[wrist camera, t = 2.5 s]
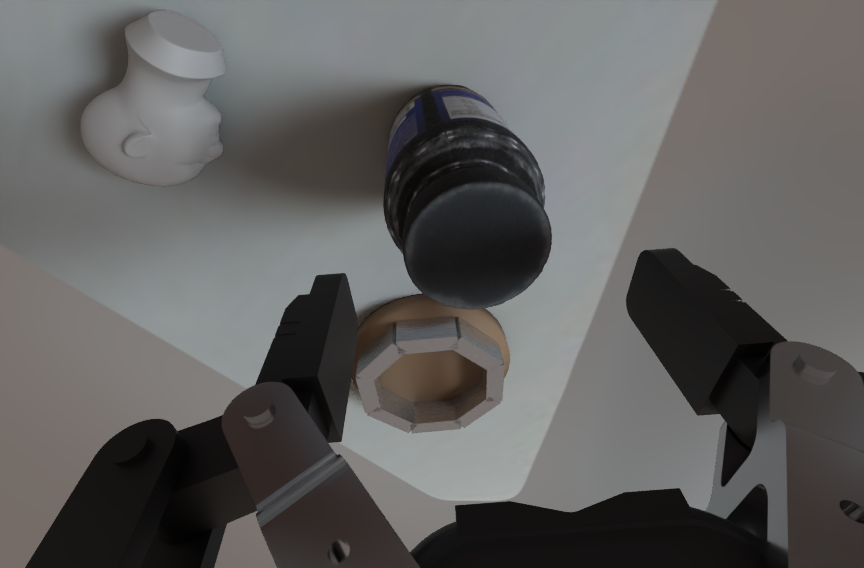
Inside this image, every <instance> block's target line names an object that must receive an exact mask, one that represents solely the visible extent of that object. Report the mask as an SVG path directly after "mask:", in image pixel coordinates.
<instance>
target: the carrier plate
mask: <svg viewBox="0 0 864 568" xmlns="http://www.w3.org/2000/svg"><path fill="white" fill-rule="evenodd" d="M509 363H510V354H509V349H508V345H507V342H506V338H505V335H504V332H503V330H502V327H501V325H500V324H499V322H498V321H497V319H496V318H495V317H494V316H493V315H492V314H491V313H490V312H489V311H488V310H486V309H485V308H480V309H470V310H468V309H459V308H458V309H456V308H452V307H448V306H444V305H443V304H440V303H438V302H436V301H434V300H431V299H430V298H428V297H427V296H426V295H424V294H419V295H412V296H408V297H404V298H400V299H398V300H395V301H392V302H390V303H388V304H386V305H384V306H382V307H380V308H379V309H377V310H376V311H374V312H373V313H372V314H371V315H370V316H368V317H367V318H366V319H365V321H364V322H363V323H362V324H361V325H360V327H359V328H358V337H357V344H356V350H355V357H354V363H353V370H352V376H351V377H352V379H353V382H354V384H355V385H356V387H357V389H358V390H359V393H360V396H361V400H362V403H363V407H364V410H365V413H368V414H367V415H368V416H371V417H373V418H375V419H377V420H380V421H382V422H384V423H387V424H389V425H391V426H394V427H396V428H398V429H401V430H403V431H405V432H407V433H409V432H410V431H411V432H412V433H421V432H432V431H442V430H453V429H461V426H462V427H464V428H465V427H466V426H468V425H469V424H470V423H472V422H473V421H475V420H476V419H478V418H479V417H481V416H482V415H484V414H485V413H487V412H488V411H490V410H491V409H492V408H494V407H495V406H497V405H498V404H500V401H502V396H503V382H504V378H505V376H506V374H507V371H508V369H509Z"/></svg>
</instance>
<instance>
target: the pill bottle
mask: <svg viewBox="0 0 864 568" xmlns="http://www.w3.org/2000/svg"><path fill="white" fill-rule="evenodd" d="M544 205H545V186H544V180H543V176H542V173H541V170H540V168H539V166H538V163H537V161H536V159H535V158H534V156H533V155H532V153H531V152H530V150H529V149H528V148H527V146H526V145H525V144H524V143H523V142H522V141H521V140H520V139H519V137H518V136H517V135H516V134H515V133H514V132H513V131H512V129H511V128H510V127H509V126H508V125H507V123H506V122H505V121H504V120H503V119H502V117H501V116H500V115H499V114H498V113H497V112H496V110H495V109H494V108H493V107H492V106H491V104H490V103H489V102H488V101H487V100H486V99H485V98H484V97H482V96H481V95H479V94H477V93H476V92H474V91H472V90H470V89H468V88H466V87H464V86H460V85H440V86H437V87H434V88H429V89H427V90H425V91H422V92H420V93H418V94H416V95H415V96H413V97H412V98H411V99H410V100H409V101H408V102H407V103H406V104H405V105H404V106H403V107H402V109H401V110H400V111H399V112H398V114H397V116H396V118H395V120H394V122H393V125H392V128H391V131H390V135H389V140H388V153H387V165H386V178H385V191H384V204H383V206H384V216H385V221H386V223H387V228H388V231H389V232H390V235H391V237H392V239H393V241H394V242H395V244H396V246H397V247H398V248H399V249H400V250H401V252H402V253H403V256H404V262H405V265H406V269H407V272H408V274H409V276H410V278H411V280H412V282H413V283H414V284H415V286H416V287H417V288H418V289H419V290H420V291H421V292H422V293H423V294H424V295H426V296H427V297H428V298H430V299H431V300H434V301H436V302H438V303H440V304H443V305H444V306H448V307H452V308H456V309H458V308H459V309H468V310H470V309H480V308H488V307H492V306H496V305H499V304H502V303H504V302H505V301H507V300H509V299H512V298H514V297H515V296H517V295H518V294H520V293H521V292H523V291H524V290H526V289H527V288H528V287H529V286H530V285H531V284H532V283H533V282H534V281H535V279H536V278H537V277H538V276H539V274H540V273H541V272H542V270H543V267H544V265H545V264H546V262H547V259H548V257H549V254H550V250H551V244H552V242H551V240H552V234H551V226H550V222H549V219H548V216H547V214H546V212H545V210H544Z"/></svg>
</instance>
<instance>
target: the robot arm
mask: <svg viewBox="0 0 864 568" xmlns="http://www.w3.org/2000/svg"><path fill="white" fill-rule="evenodd" d="M626 306H627V310H628V314H629V316H630V317H631V319H632V321H633V322H634V324H635V325H636V327H637V328H638V329H639V331H640V332H641V334H642V335H643V337H644V338H645V340H646V341H647V343H648V344H649V345H650V347H651V348H652V350H653V351H654V353H655V354H656V356H657V357H658V359H659V360H660V362H661V363H662V364H663V366H664V367H665V369H666V370H667V372H668V373H669V375H670V376H671V378H672V379H673V380H674V382H675V383H676V385H677V386H678V388H679V389H680V391H681V392H682V393H683V395H684V396H685V398H686V399H687V401H688V402H689V404H690V405H691V407H692V408H693V410H694V411H695V413H696V414H697V415H711V414H721V416H722V417H723V419H724V420H725V421H724V423H723V424H722V426H721V428H720V431H719V439H718V447H717V455H716V462H715V471H714V479H713V487H712V494H711V498H710V501H709V504H708V507H707V509H706V511H702V510H699V509H696V508H692V507H689V505H688V503H687V501H686V500H685V498H684V496H683V494H682V492H681V490H680V489H679V488H676V489H664V490H650V491H637V492H625V493H622V494H619V495H617V496H614V497H612V498H609V499H607V500H605V501H602V502H599V503H597V504H594V505H592V506H589V507H587V508H584V509H582V510H580V511H577V512H563V511H558V510H553V509H548V508H542V507H537V506H532V505H527V504H522V503H516V502H511V501H508V502H495V503H483V504H470V505H457V506H455V511H456V522H454V523H451V524H449V525H446V526H444V527H442V528H441V529H439V530H437V531H435V532H433V533H432V534H430V535H429V536H428V537H426V538H425V539H424V540H423V541H421V542H420V543H419V544H418V545H417V546H416V547H415V548H414V549H413V550H412V551H411V552H409V551H408V549H407V548H406V546H405V545H404V544H403V542H402V541H401V539H400V538H399V536H398V535H397V533H396V532H395V531H394V529H393V528H392V526H391V525H390V523H389V522H388V521H387V519H386V518H385V516H384V515H383V513H382V512H381V510H380V509H379V508H378V506H377V505H376V503H375V502H374V500H373V499H372V497H371V496H370V495H369V493H368V492H367V490H366V489H365V487H364V486H363V484H362V483H361V482H360V480H359V479H358V477H357V476H356V474H355V473H354V472H353V470H352V469H351V467H350V466H349V464H348V463H347V462H346V460H345V459H344V458H343V457H342V456H341V455H340V454H339V455H337V454H336V453H335V452H334V451H333V449H332V448H331V447H330V445H329V444H328V443H332V442H341V441H342V434H343V428H344V421H345V415H346V408H347V402H348V395H349V389H350V382H351V376H352V370H353V363H354V357H355V350H356V344H357V337H358V324H357V317H356V312H355V308H354V304H353V300H352V295H351V291H350V287H349V283H348V279H347V276H346V274H345V273H340V274H327V275H317V276H316V277H315V280H314V283H313V286H312V289H311V292H310V294H307V295H298V296H297V297H296V298H295V299H294V300H293V301H292V302H291V303H290V304H289V306H288V307H287V308H286V309H285V312H284V314H283V317H282V319H281V322H280V326H279V327H278V329H277V332H276V334H275V338H274V339H273V342H272V344H271V347H270V349H269V352H268V354H267V357H266V359H265V362H264V364H263V367H262V369H261V372H260V374H259V377H258V379H257V382H256V384H255V385H254V386H252V387H250V388H248V389H246V390H245V391H243V392H241V393H240V394H239V395H238V396H236V397H235V398H234V399H233V400H232V401H231V403H230V404H229V405H228V407H227V408H226V410H225V412H224V414H223V415H222V416H219V417H217V418H214V419H212V420H209V421H206V422H203V423H200V424H197V425H194V426H192V427H188V428H186V429H183V430H180V431H177V430H176V429H175V428H174V426H173V425H172V424H171V423H170V422H168V421H166V420H163V419H150V420H145V421H142V422H138V423H136V424H134V425H131V426H129V427H127V428H126V429H124V430H122V431H121V432H119V433H118V434H116V435H115V436H114V437H112V438H111V439H110V440H109V441H108V442H107V443H106V444H105V445H104V446H103V447H102V448H101V449H100V450H99V451H98V453H97V454H96V455H95V457H94V458H93V460H92V461H91V463H90V465H89V466H88V468H87V469H86V471H85V473H84V474H83V476H82V477H81V479H80V481H79V482H78V484H77V485H76V487H75V489H74V490H73V492H72V493H71V495H70V497H69V499H68V500H67V501H66V503H65V505H64V506H63V508H62V509H61V511H60V513H59V514H58V516H57V517H56V519H55V521H54V522H53V524H52V525H51V527H50V529H49V530H48V532H47V534H46V535H45V537H44V538H43V540H42V542H41V543H40V545H39V546H38V548H37V550H36V551H35V553H34V555H33V556H32V557H31V559H30V561H29V563H28V564H27V566H26V567H25V568H214V566H215V562H216V559H217V555H218V552H219V549H220V545H221V542H222V538H223V535H224V531H225V528H226V525H227V523H229V522H231V521H234V520H236V519H238V518H241V517H243V516H245V515H248V514H250V513H253V512H255V511H258V513H257V514H256V517H257V521H258V524H259V526H260V529H261V531H262V534H263V536H264V538H265V541H266V543H267V545H268V548H269V550H270V552H271V554H272V557H273V559H274V562H275V564H276V566H277V568H864V373H863V372H858V371H857V370H856V369H855V368H854V367H853V366H852V365H851V364H850V363H848V362H847V361H846V360H844V359H843V358H841V357H839V356H838V355H836V354H834V353H832V352H830V351H828V350H826V349H823V348H821V347H818V346H815V345H812V344H808V343H803V342H796V341H787V340H786V339H785V338H784V337H783V336H782V335H781V334H779V333H778V332H777V331H776V330H775V329H774V328H773V327H772V326H771V325H770V324H769V323H767V322H766V321H765V320H764V319H763V318H762V317H761V316H760V315H759V314H757V313H756V312H755V311H754V310H753V309H752V308H751V307H750V306H749V305H748V304H747V303H746V302H742V299H741V298H740V297H739V296H738V295H737V294H736V293H734V292H733V291H730V288H729V287H728V286H727V285H726V284H725V283H724V282H722V281H721V280H720V279H719V278H718V277H717V276H715V275H714V274H712V273H710V272H708V271H706V270H705V269H703V268H701V267H699V266H697V265H693V264H692V263H691V262H690V261H689V260H688V259H687V258H686V257H685V256H684V255H683V254H682V253H681V252H680V251H678V250H677V249H675V248H669V249H656V250H644V251H643V252H641V253H640V255H639V257H638V260H637V263H636V266H635V270H634V273H633V276H632V280H631V283H630V287H629V290H628V293H627V298H626Z"/></svg>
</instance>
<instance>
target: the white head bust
mask: <svg viewBox="0 0 864 568" xmlns="http://www.w3.org/2000/svg"><path fill="white" fill-rule="evenodd" d="M125 38H126V43H127V48H128V66H127V71H126V74H125V77H124V79H123V80H122V82H121V83H120V84H119V85H118V86H116V87H114V88H112V89H110V90H107V91H105V92H103V93H101V94H100V95H98V96H97V97H95V98H94V99H93V100H92V101H91V102H90V103H89V104H88V105H87V107H86V108H85V110H84V112H83V114H82V117H81V122H80V131H81V137H82V140H83V143H84V145H85V147H86V149H87V150H88V152H89V153H90V155H91V156H92V157H93V158H94V159H95V160H96V161H97V162H98V163H99V164H100V165H102V166H103V167H104V168H106V169H107V170H109V171H110V172H112V173H114V174H116V175H118V176H120V177H122V178H125V179H128V180H131V181H134V182H137V183H141V184H146V185H153V186H172V185H177V184H181V183H184V182H187V181H189V180H191V179H193V178H195V177H196V176H197V175H198V174H199V173H200V172H201V171H202V169H203V168H204V166H205V164H207V163H209V162H211V161H212V160H214V159H215V158H217V157H219V156H220V155H221V154H222V153H223V145H222V143H221V141H220V140H219V137H220V135H219V132H218V131H219V127H218V126H219V124H220V123H221V120H222V116H221V113H220V111H219V110H218V109H217V108H216V107H215V106H214V105H213V104H212V103H211V102H210V101H208V100H207V99H206V98H205V97H204V96H203V95H204V93H205V92H206V90H207V88H208V86H209V84H210V82H211V80H212V78H215V77H219V76H221V75H223V74H224V73H225V71H226V62H225V58H224V54H223V50H222V46H221V44H220V42H219V41H218V39H217V38H216V37H215V36H214V35H213V34H212V33H210V32H209V31H208V30H207V29H205V28H204V27H203V26H201V25H200V24H199V23H197V22H196V21H194V20H192V19H190V18H189V17H187V16H184V15H182V14H180V13H177V12H173V11H167V10H162V11H154V12H151V13H149V14H147V15H146V16H144V17H142V18H140V19H138V20H136V21H134V22H132V23H131V24H129V25H128V26H127V27H126V28H125Z"/></svg>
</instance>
